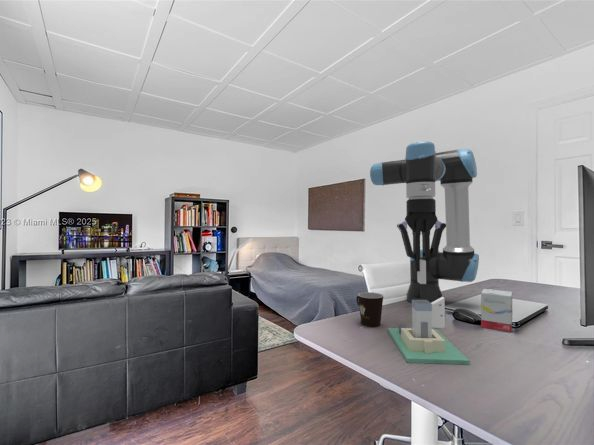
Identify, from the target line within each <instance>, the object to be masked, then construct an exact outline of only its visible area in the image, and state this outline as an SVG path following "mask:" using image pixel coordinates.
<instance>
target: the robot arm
mask: <svg viewBox="0 0 594 445" xmlns="http://www.w3.org/2000/svg"><path fill="white" fill-rule="evenodd" d="M477 171H478V170H477V163H476V158H475V155H474V152H473V151H472V149H469V148H464V149H463V148H462V149H454V150H447V151H440V152H436V148H435V144H434V143H433V142H432V141H415V142H412V143H410V144H408V145H407V146H406V149H405V157H404V159H399V160H391V161H384V162H383V161H382V162H377V163H373V164H372V165H371V167H370V171H369V178H370V181H371V183H372V184H373V185H374V186H385V185H386V186H387V185H397V184H406V185H405V186H406V187H405V188H406V189H405V190H406V193H405V194H406V198H407V200H406V202H405V203H406V216H405V218H404V221H402V222H401V223H397V224H396V228H398V230H399V232H400V234H401V238H402V242H403V246H404V249H405V253H406V256H407V257H408V258H410V259H409V265H410V268H409V270H410V276H409V277H410V284H409V286H408V290H407V293H406V300H407V302H409V303H412V300H427V301H429V302H430V303H432V302H434V301H435V300H437V299H439V298H441V297H444V296H443V294H442V290H441V287H440V284H439V281H440V280H443V281H444V280H446V281H455V282H461V283H463V282H465V283H472V282H474V281H475V280H476V278H477V274H478V270H479V263H480V262H479V261H480V255H479V254H478V253H475V248H473V246H471V239H470V238H471V237H470V236H471V234H470V232H471V231H470V207H469V206H470V200H469V187H470V186H471V184H473V179H474V178H477V176H478V172H477ZM438 181H440V186H441V187H442V188H443V189H444V205H445V206H444V210H445V223H444V222H441V221H440V220H438V216H437V214H436V211H437V210H436V205H437V204H436V202H437V201H436V199H435V197H436V182H438ZM408 227H409V229H410V230H411V231H412V244H411V240H410V237H409V232H408V230H407V229H408ZM433 227H434V232H433V236H432V241H431V242H430V240H431V238H430V236H431V230H432V229H433ZM444 230H445V231H446V232H445V237H446V245H445V246H444V247H443V248H442V252H441V251H440V250H439V248H440V244H441V239H442V234H443V232H444ZM421 235H422V236H421ZM421 237H422V238H421ZM421 241H422V242H421ZM421 243H422V244H421ZM430 243H431V244H430ZM421 247H422V248H421Z"/></svg>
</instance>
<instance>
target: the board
mask: <svg viewBox="0 0 594 445" xmlns="http://www.w3.org/2000/svg"><path fill="white" fill-rule="evenodd" d="M387 332H388V333H389V335H390V337H391V338H392V340H393V342H394V343H395V345H396V347H397V348H398V350H399V352H400V354H401V355H402V357H403V358H404V360H405V361H406V363H409V364H410V363H413V364H416V363H417V364H438V365H439V364H440V365H441V364H442V365H470V359H469V358H467V357H466V356H465V354H464V353H462V352H461V351H460V350H459V349H458V348H457V347H456V346H454V345H453V344H452V342H451V341H449V340H448V339H447V338H446V337H445V336H444V335H443V334H441V332H440V331H439V330H437V328H432V338H414V337H413V336H412V327H407V325H406V324H403V323H402V324H398V327H388V328H387Z"/></svg>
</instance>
